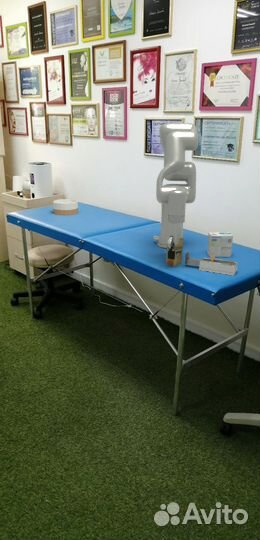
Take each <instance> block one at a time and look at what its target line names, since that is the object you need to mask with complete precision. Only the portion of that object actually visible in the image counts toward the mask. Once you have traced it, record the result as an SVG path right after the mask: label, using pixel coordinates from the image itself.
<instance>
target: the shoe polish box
mask: <svg viewBox="0 0 260 540" xmlns="http://www.w3.org/2000/svg"><path fill="white" fill-rule="evenodd" d="M172 244H174V243H172ZM172 247H173V246H172ZM183 247H184V238H183V239H182V238H181V239H180V240H179V244H177V245H176V246H175V250H174V251H175V259H174V260H172V259H168V244H167V248H166V265H169V266H172V267H178V266H181V265H182V264H183V253H184V252H183V249H184V248H183ZM180 264H181V265H180ZM177 265H178V266H177Z"/></svg>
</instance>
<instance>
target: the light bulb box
mask: <svg viewBox="0 0 260 540" xmlns="http://www.w3.org/2000/svg"><path fill="white" fill-rule="evenodd" d="M233 238H234V235H233V234H232V233H231V232H230V231H228V232H227V231H226V232H225V231H224V232H222V231H221V232H219V231H217V232H215V231H214V232H208V236H207V251H206V252H207V253H206V254H207V255H208V256H209V257H208V258H211V256H212V255H213V254H214V255H215V258H225V257H227V258H230V257H232V249H233V240H234V239H233Z"/></svg>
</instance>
